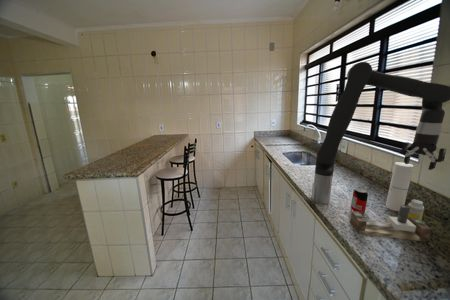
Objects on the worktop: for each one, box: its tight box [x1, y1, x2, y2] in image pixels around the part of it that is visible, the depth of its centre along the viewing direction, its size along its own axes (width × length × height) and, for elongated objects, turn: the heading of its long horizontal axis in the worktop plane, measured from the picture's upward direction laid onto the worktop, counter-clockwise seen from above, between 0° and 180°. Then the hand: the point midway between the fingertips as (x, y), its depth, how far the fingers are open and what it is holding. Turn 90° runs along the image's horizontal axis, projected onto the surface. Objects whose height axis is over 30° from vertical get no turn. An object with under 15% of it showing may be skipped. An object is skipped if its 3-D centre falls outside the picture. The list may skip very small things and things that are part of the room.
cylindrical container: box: [385, 161, 414, 212], centre depth 100 cm, size 7×7×25 cm
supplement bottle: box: [407, 199, 425, 221], centre depth 91 cm, size 6×6×10 cm
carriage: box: [386, 204, 416, 232], centre depth 82 cm, size 7×6×10 cm
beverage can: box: [350, 187, 369, 214], centre depth 100 cm, size 6×6×12 cm
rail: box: [349, 210, 432, 243], centre depth 84 cm, size 26×8×6 cm, turn 76°
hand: (418, 166), depth 89 cm, fingers open, 8 cm apart
